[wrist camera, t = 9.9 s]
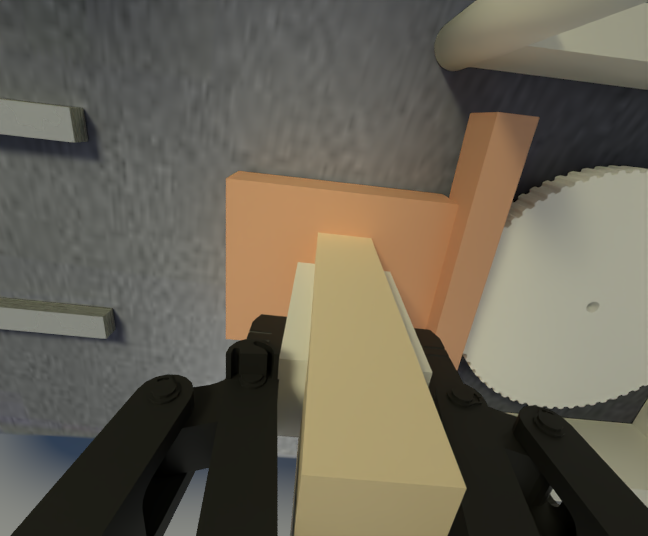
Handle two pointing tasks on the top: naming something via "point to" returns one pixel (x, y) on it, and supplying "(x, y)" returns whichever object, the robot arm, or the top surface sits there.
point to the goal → (572, 64)
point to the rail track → (37, 314)
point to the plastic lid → (568, 293)
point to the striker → (374, 322)
